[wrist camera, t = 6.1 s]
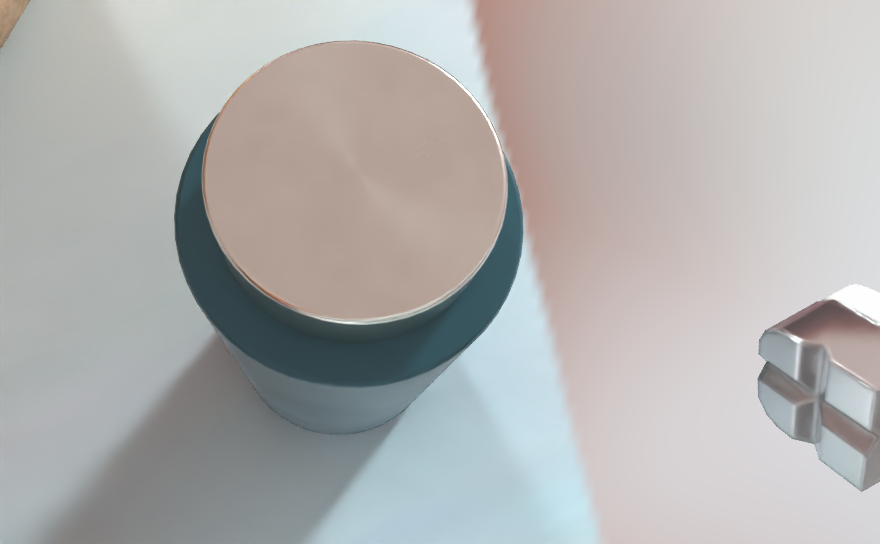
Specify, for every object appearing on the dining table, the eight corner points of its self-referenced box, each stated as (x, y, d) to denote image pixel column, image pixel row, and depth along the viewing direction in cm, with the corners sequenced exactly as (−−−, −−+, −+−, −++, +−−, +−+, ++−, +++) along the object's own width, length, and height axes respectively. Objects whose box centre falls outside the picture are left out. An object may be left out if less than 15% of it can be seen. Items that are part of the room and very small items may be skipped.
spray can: (452, 267, 21) (578, 53, 11) (415, 453, 20) (518, 412, 9) (270, 224, 21) (217, -42, 10) (216, 411, 19) (92, 318, 9)
